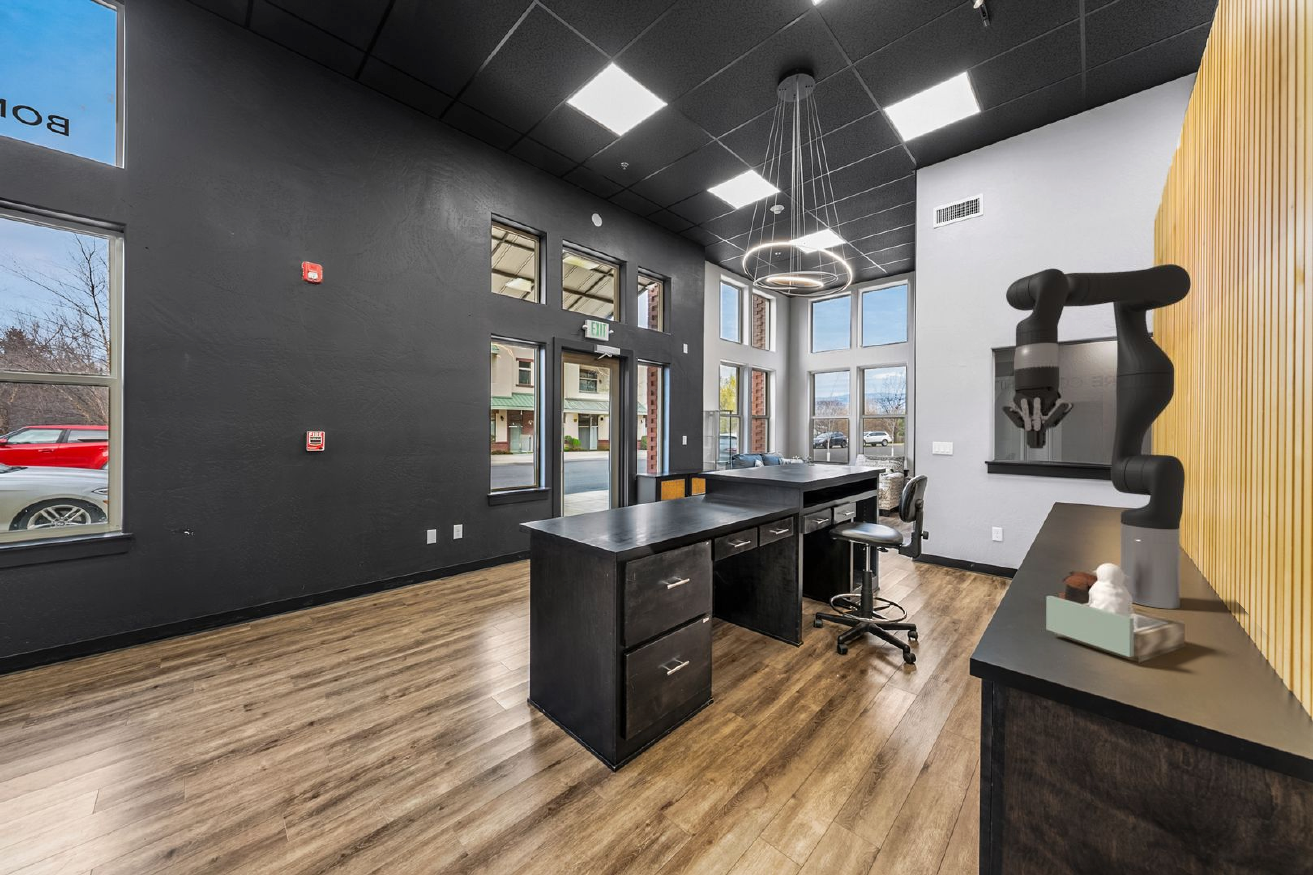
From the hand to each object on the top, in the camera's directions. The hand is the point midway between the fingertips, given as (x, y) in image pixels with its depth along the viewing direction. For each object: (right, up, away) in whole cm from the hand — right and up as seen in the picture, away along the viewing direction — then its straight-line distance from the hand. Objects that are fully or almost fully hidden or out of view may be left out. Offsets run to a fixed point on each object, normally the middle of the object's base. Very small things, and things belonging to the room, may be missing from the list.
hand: (1036, 448), depth 101 cm
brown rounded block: (+12, -36, +2) cm, 38 cm away
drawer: (+1, -34, -15) cm, 37 cm away
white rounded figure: (+2, -33, -15) cm, 36 cm away
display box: (+4, -35, -14) cm, 38 cm away
